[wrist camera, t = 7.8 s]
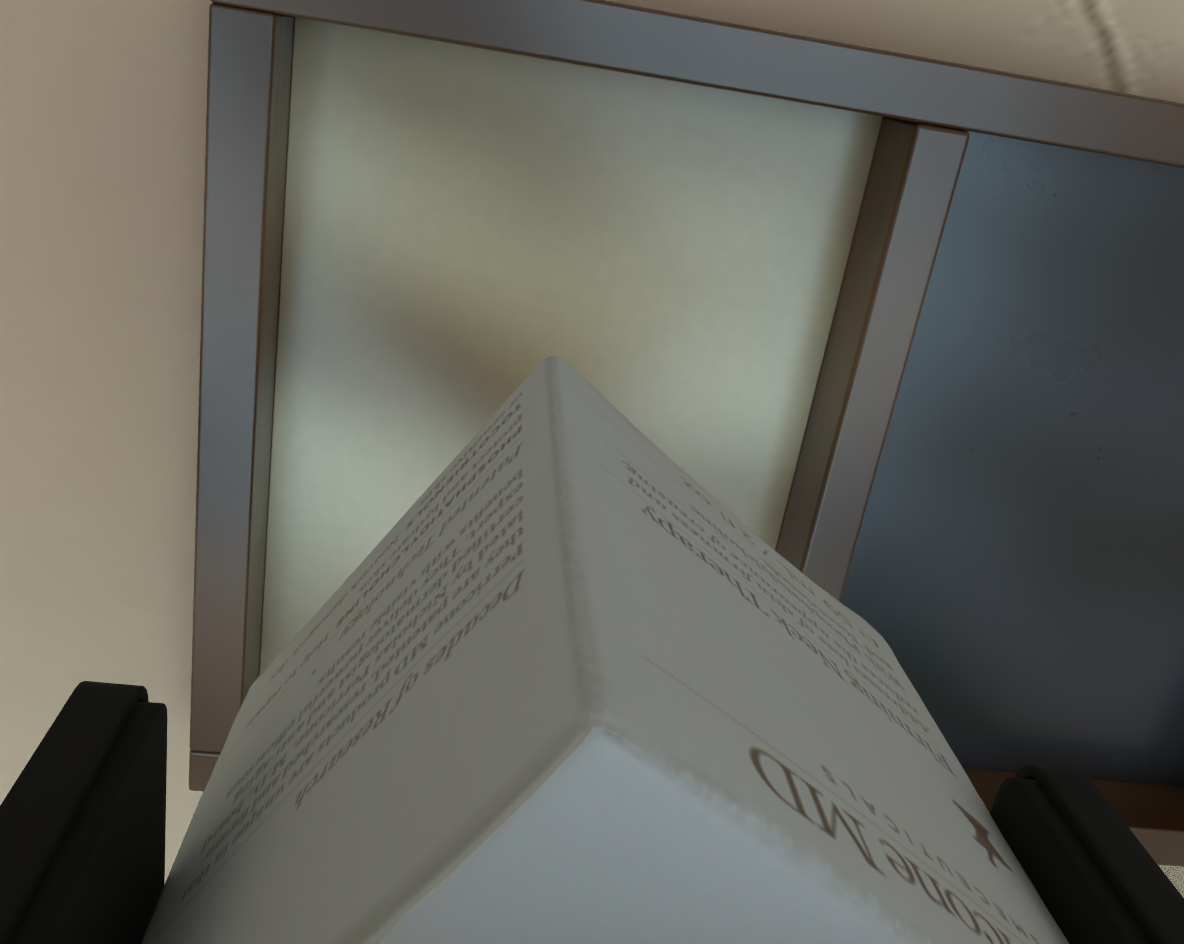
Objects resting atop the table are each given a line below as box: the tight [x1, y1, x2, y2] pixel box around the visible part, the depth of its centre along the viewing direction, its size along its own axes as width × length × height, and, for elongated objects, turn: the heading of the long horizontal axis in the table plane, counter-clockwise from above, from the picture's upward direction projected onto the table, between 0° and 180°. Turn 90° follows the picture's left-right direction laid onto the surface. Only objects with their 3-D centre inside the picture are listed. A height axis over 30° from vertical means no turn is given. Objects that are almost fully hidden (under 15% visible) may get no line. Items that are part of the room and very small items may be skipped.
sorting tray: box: [189, 0, 1184, 866], centre depth 22 cm, size 16×24×2 cm, turn 81°
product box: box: [141, 356, 1069, 944], centre depth 11 cm, size 6×6×7 cm
